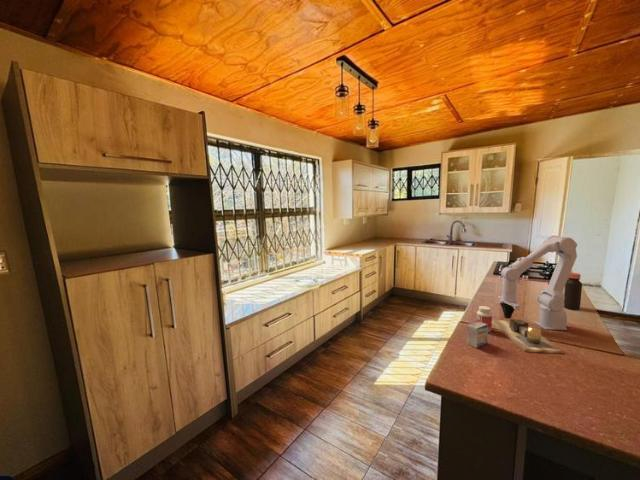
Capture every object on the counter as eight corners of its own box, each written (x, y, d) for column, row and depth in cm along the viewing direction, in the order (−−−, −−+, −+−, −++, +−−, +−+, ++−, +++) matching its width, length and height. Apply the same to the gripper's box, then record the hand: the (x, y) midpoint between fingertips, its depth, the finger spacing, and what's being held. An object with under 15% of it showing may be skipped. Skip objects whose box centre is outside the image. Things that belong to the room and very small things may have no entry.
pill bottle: (493, 330, 124) (494, 307, 123) (487, 333, 121) (488, 311, 119) (479, 325, 129) (480, 304, 128) (473, 329, 126) (474, 307, 124)
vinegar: (566, 309, 145) (569, 274, 143) (560, 305, 151) (563, 272, 149) (582, 311, 142) (585, 275, 140) (576, 306, 149) (579, 272, 146)
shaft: (520, 327, 123) (521, 319, 122) (533, 336, 114) (534, 328, 114) (509, 327, 124) (509, 319, 123) (521, 336, 115) (521, 327, 114)
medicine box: (476, 348, 109) (477, 328, 108) (466, 343, 113) (466, 324, 112) (487, 343, 112) (488, 324, 111) (477, 339, 116) (477, 320, 115)
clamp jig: (519, 322, 131) (520, 312, 130) (563, 353, 103) (564, 340, 103) (489, 321, 133) (490, 312, 132) (524, 351, 105) (525, 339, 105)
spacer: (537, 339, 112) (538, 326, 111) (542, 344, 108) (543, 331, 107) (525, 337, 113) (526, 325, 112) (529, 343, 109) (530, 329, 108)
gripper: (492, 287, 136) (491, 312, 137) (508, 296, 121) (507, 324, 123) (507, 287, 135) (505, 312, 136) (525, 296, 120) (523, 324, 122)
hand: (507, 318), depth 130 cm, fingers closed
